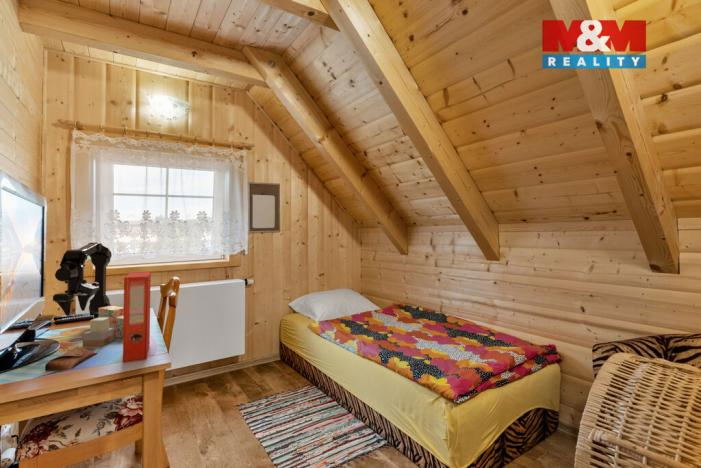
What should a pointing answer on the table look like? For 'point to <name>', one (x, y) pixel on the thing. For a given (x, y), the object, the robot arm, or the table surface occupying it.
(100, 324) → the sage cube
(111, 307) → the stack of blocks
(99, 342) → the walnut base block
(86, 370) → the table surface
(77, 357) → the sunglasses case
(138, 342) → the file binder
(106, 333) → the grey top block
